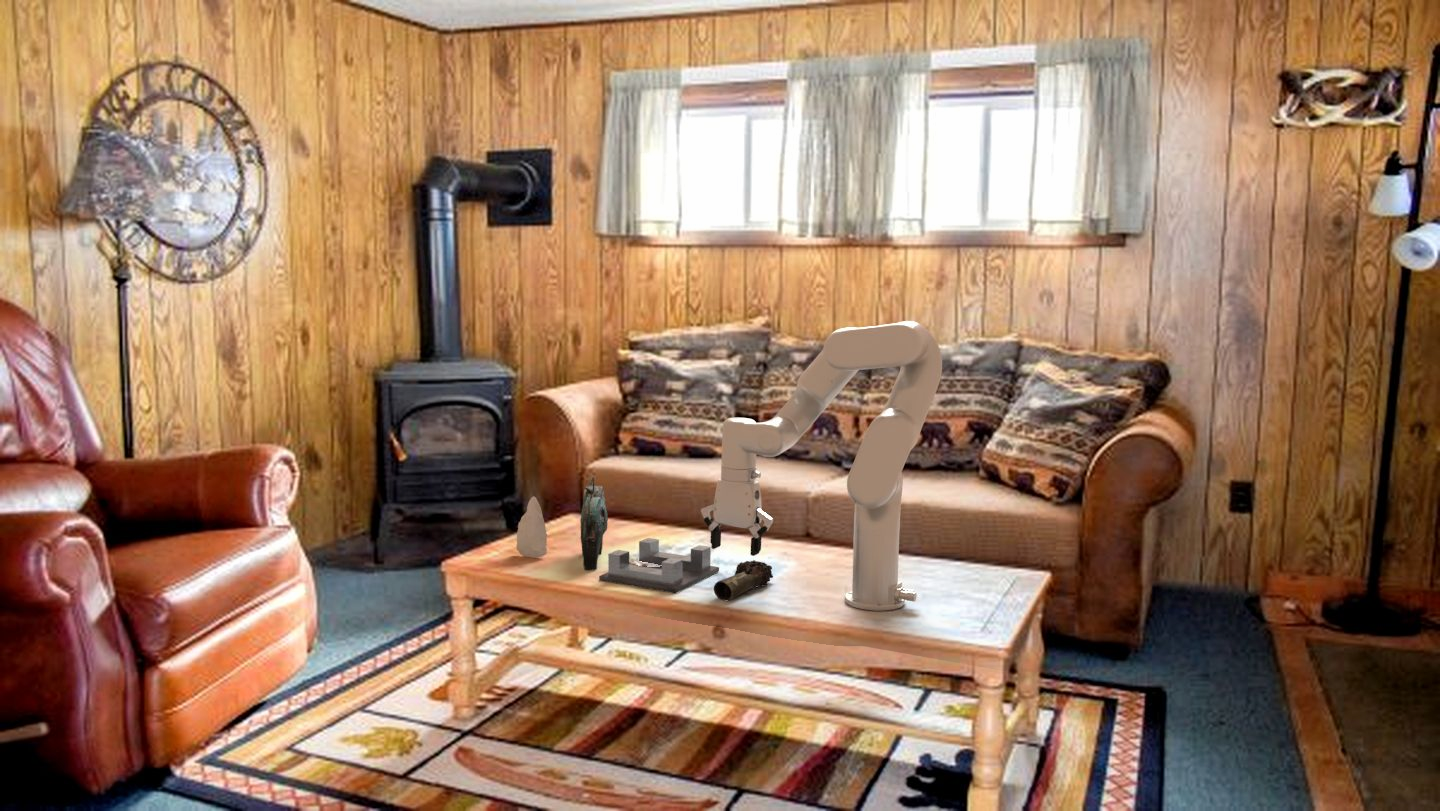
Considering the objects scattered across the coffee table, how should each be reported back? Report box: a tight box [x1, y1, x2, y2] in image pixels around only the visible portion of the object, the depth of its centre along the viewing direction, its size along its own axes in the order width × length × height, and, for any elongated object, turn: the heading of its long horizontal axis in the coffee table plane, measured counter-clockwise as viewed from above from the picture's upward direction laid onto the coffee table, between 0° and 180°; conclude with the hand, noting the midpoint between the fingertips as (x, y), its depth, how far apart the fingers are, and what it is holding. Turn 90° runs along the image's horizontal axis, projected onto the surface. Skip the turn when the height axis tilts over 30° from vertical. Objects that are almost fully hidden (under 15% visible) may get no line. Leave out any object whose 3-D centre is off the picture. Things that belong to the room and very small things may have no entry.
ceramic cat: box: [580, 476, 609, 571], centre depth 262 cm, size 20×6×20 cm, turn 2°
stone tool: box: [516, 495, 548, 559], centre depth 264 cm, size 8×3×15 cm, turn 70°
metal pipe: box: [713, 560, 774, 602], centre depth 239 cm, size 18×7×6 cm, turn 144°
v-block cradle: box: [598, 537, 720, 594], centre depth 249 cm, size 20×20×6 cm
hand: (735, 550), depth 239 cm, fingers open, 9 cm apart
